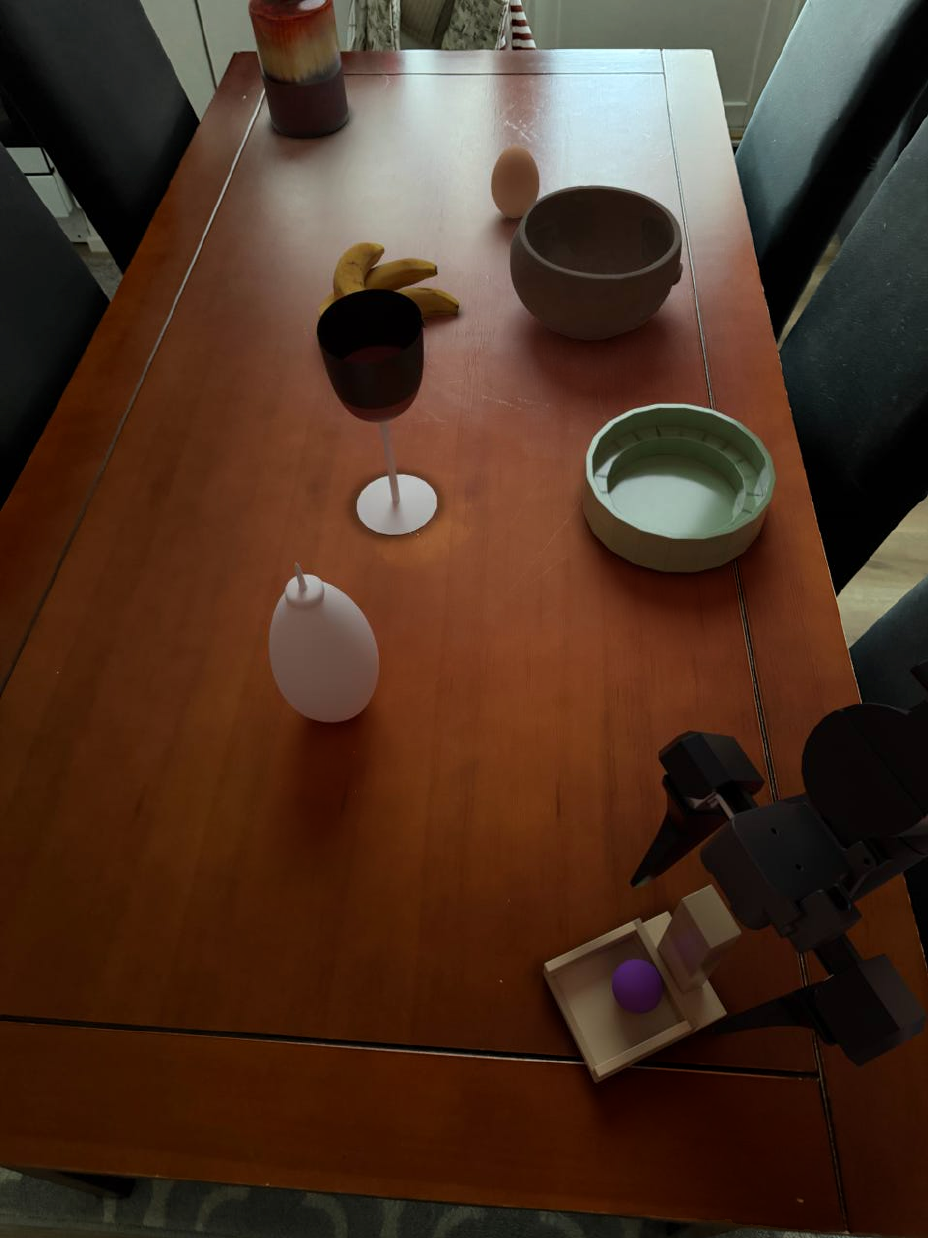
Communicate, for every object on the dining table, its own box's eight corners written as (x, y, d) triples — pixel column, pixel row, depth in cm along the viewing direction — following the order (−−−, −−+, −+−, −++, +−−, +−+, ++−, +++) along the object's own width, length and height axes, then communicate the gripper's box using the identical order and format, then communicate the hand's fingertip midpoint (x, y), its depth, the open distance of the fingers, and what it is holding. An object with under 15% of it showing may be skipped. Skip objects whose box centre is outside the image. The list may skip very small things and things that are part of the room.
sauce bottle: (389, 659, 74) (360, 514, 60) (384, 744, 70) (352, 611, 55) (295, 661, 75) (243, 517, 60) (284, 746, 70) (225, 614, 55)
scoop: (666, 913, 62) (699, 847, 51) (725, 1016, 58) (773, 966, 48) (542, 973, 60) (550, 917, 50) (595, 1083, 56) (615, 1047, 46)
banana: (326, 390, 93) (316, 345, 89) (319, 280, 104) (310, 235, 100) (472, 373, 94) (470, 327, 89) (450, 265, 105) (447, 220, 100)
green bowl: (776, 465, 85) (789, 426, 81) (742, 596, 77) (755, 560, 72) (609, 427, 89) (614, 387, 85) (559, 548, 80) (562, 510, 76)
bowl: (692, 285, 101) (709, 200, 93) (635, 382, 92) (647, 298, 84) (551, 248, 106) (555, 165, 98) (484, 337, 97) (482, 253, 89)
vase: (354, 131, 123) (331, -44, 106) (276, 143, 122) (240, -31, 105) (342, 94, 129) (318, -77, 113) (267, 105, 128) (232, -65, 111)
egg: (532, 231, 108) (534, 162, 101) (486, 225, 109) (485, 157, 102) (543, 204, 111) (545, 136, 104) (497, 199, 112) (497, 131, 106)
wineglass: (345, 536, 82) (304, 359, 66) (364, 467, 87) (330, 286, 71) (431, 543, 81) (412, 365, 65) (445, 472, 86) (430, 291, 70)
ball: (615, 1003, 59) (658, 981, 59) (633, 1033, 56) (678, 1009, 56) (597, 964, 58) (641, 941, 58) (614, 992, 55) (660, 967, 55)
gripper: (717, 651, 46) (520, 821, 53) (976, 1006, 36) (692, 1159, 43) (804, 675, 54) (623, 819, 61) (1035, 970, 44) (788, 1103, 51)
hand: (673, 954), depth 54 cm, fingers open, 9 cm apart
